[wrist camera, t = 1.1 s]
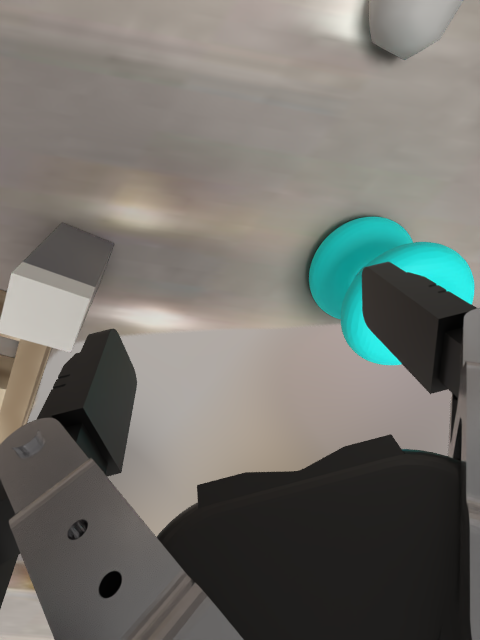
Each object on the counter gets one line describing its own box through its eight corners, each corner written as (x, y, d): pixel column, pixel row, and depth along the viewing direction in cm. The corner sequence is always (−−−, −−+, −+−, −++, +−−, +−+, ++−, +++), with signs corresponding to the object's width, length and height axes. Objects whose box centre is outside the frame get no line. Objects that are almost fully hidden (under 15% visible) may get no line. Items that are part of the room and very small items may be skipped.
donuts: (343, 381, 26) (362, 258, 21) (301, 316, 35) (307, 217, 30) (460, 363, 28) (505, 243, 23) (392, 305, 36) (413, 208, 31)
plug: (49, 266, 28) (-3, 332, 20) (62, 222, 26) (11, 272, 18) (99, 284, 30) (70, 352, 21) (114, 243, 28) (90, 299, 20)
